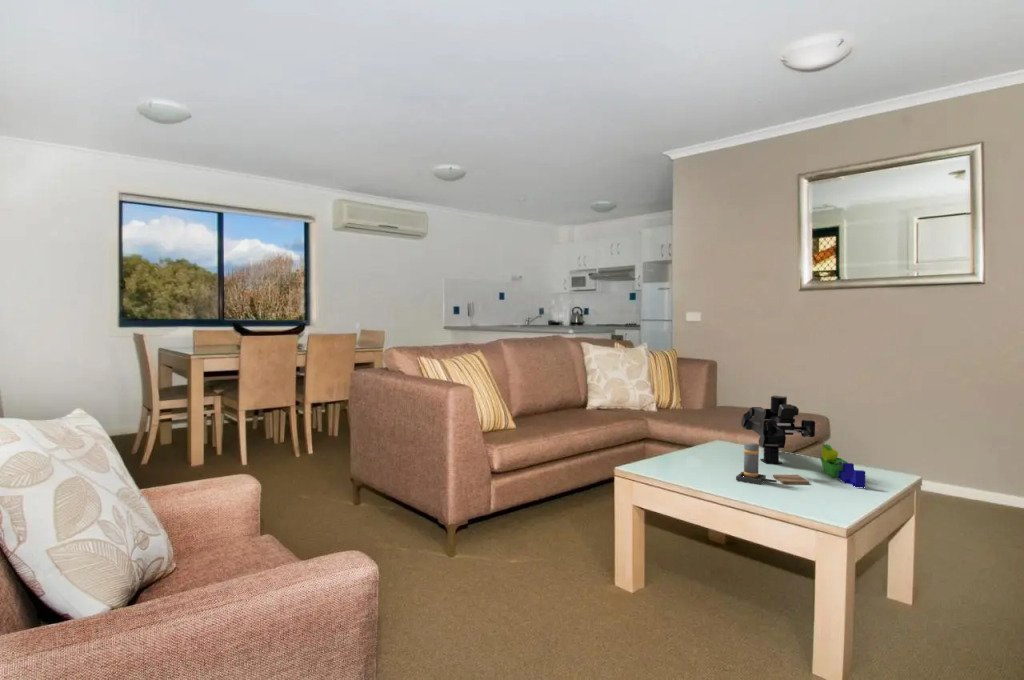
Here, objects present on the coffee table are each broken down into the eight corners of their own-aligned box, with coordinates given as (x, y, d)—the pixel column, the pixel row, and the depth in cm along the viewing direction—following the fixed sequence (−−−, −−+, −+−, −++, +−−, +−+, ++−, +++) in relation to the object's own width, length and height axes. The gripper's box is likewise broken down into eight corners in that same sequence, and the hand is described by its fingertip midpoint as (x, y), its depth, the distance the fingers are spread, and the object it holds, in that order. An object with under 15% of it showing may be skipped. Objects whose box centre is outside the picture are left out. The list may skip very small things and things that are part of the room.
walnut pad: (772, 477, 213) (772, 474, 213) (797, 477, 212) (797, 474, 212) (783, 484, 204) (783, 481, 204) (809, 484, 203) (809, 481, 203)
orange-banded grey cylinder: (741, 478, 211) (742, 442, 211) (755, 478, 211) (755, 443, 211) (746, 481, 206) (746, 445, 206) (760, 482, 206) (761, 445, 206)
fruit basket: (853, 479, 211) (853, 448, 210) (826, 477, 212) (827, 447, 212) (840, 471, 222) (840, 441, 222) (815, 470, 223) (816, 441, 223)
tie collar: (742, 475, 214) (742, 471, 214) (778, 481, 207) (778, 477, 207) (736, 480, 208) (736, 476, 208) (773, 486, 200) (773, 482, 200)
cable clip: (838, 478, 211) (838, 462, 211) (851, 479, 211) (852, 463, 210) (850, 488, 200) (851, 470, 199) (865, 488, 199) (865, 471, 199)
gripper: (756, 403, 226) (771, 410, 210) (806, 403, 224) (824, 411, 209) (755, 431, 227) (770, 441, 211) (805, 432, 225) (823, 442, 209)
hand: (797, 433), depth 210 cm, fingers open, 9 cm apart
